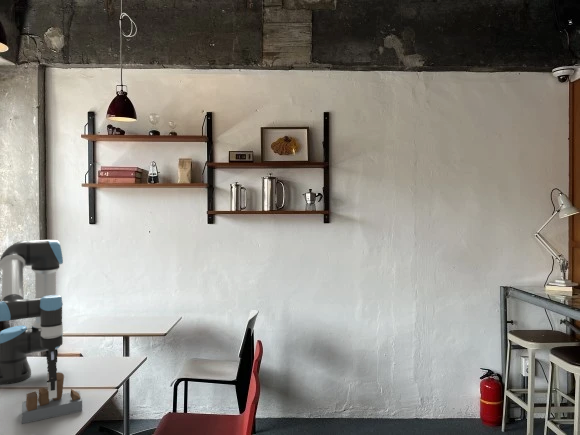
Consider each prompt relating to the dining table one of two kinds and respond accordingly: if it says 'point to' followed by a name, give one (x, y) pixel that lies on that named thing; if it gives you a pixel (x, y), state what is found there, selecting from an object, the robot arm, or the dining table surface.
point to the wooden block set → (44, 395)
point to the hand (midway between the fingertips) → (52, 393)
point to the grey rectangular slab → (52, 408)
